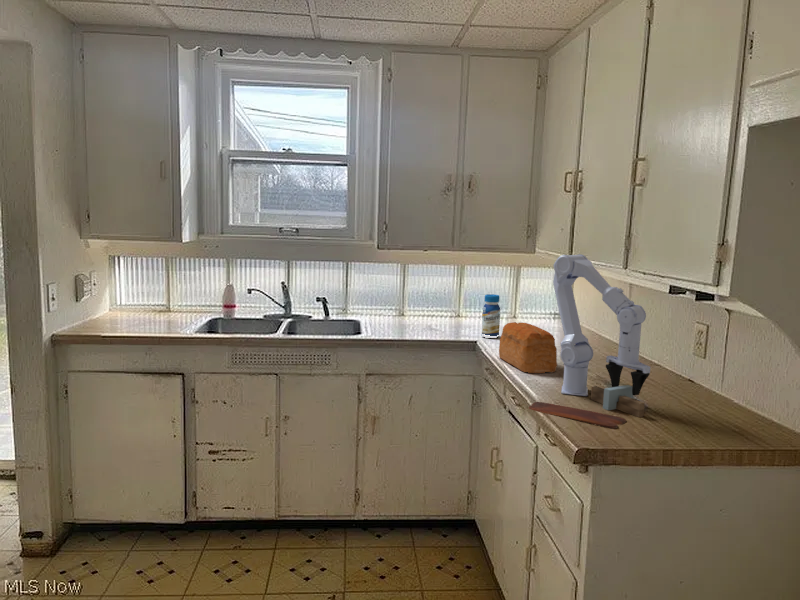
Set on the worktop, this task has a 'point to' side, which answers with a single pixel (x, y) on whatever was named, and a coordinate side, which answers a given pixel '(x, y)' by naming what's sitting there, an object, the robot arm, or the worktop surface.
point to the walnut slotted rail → (620, 402)
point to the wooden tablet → (578, 414)
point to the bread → (528, 348)
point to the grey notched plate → (615, 396)
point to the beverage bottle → (491, 315)
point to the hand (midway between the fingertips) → (625, 391)
